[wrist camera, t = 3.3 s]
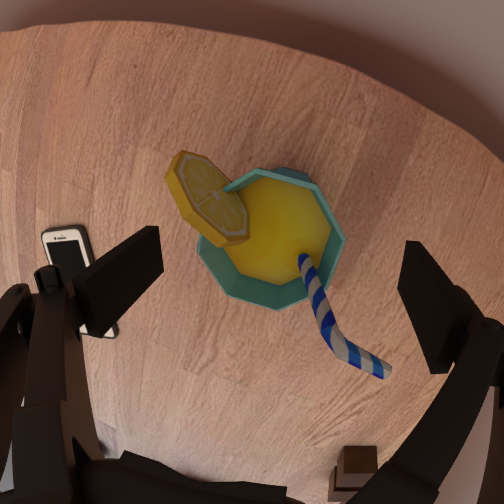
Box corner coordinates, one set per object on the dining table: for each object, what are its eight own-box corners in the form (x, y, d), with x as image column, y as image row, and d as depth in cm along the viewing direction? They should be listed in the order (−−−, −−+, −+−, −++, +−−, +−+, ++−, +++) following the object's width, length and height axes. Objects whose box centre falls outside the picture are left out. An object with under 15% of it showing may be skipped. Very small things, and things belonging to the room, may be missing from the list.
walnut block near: (376, 445, 35) (378, 473, 31) (367, 461, 37) (368, 486, 33) (343, 445, 36) (343, 474, 32) (337, 461, 38) (335, 487, 34)
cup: (388, 223, 24) (455, 333, 10) (329, 286, 27) (330, 424, 14) (254, 116, 23) (171, 103, 9) (202, 191, 26) (92, 263, 13)
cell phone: (79, 329, 37) (75, 333, 36) (44, 228, 32) (38, 231, 31) (121, 336, 35) (117, 340, 34) (84, 223, 30) (79, 226, 29)
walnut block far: (364, 466, 38) (364, 491, 34) (357, 478, 40) (356, 501, 35) (334, 466, 39) (333, 491, 34) (329, 478, 41) (327, 501, 36)
